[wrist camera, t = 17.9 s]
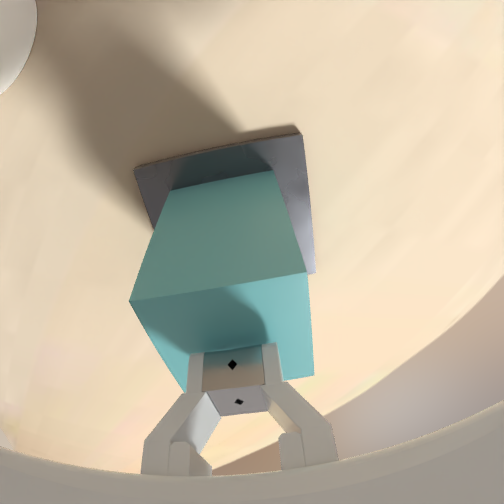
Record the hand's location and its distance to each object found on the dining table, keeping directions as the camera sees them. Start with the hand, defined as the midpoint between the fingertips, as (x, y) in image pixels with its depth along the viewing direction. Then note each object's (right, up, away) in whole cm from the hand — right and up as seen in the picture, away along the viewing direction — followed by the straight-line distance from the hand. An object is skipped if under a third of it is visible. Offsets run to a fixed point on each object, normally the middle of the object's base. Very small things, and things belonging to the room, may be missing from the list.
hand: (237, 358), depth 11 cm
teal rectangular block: (-1, +5, +7) cm, 9 cm away
